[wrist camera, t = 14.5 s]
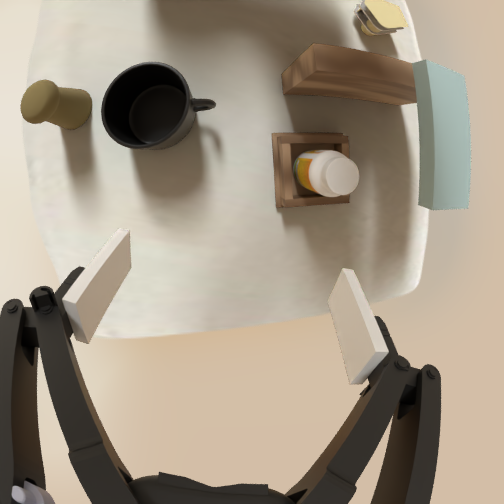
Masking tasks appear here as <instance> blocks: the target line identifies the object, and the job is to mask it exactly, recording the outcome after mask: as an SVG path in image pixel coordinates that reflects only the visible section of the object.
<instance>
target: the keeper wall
mask: <svg viewBox="0 0 504 504" xmlns="http://www.w3.org/2000/svg"><path fill="white" fill-rule="evenodd" d="M282 85H283V94H288V95H316V96H331V97H343V98H352V99H361V100H368V101H375V102H382V103H388V104H394V105H404V104H411V103H417V97H416V88H415V81H414V74H413V67H412V63H409V62H405V61H402V60H398V59H395V58H391V57H387V56H383V55H379V54H375V53H371V52H366V51H361V50H356V49H351V48H345V47H339V46H333V45H325V44H317V43H313V44H312V45H311V46H310V47H309V48H308V49H307V50H306V51H304V52H303V53H302V54H301V55H300V56H299V57H298V58H297V59H296V60H295V61H294V62H293V63H292V64H291V65H290V66H289V67H288V68H287V69H286V70H285V71H284V72H283V73H282Z"/></svg>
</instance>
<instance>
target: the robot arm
mask: <svg viewBox="0 0 504 504" xmlns="http://www.w3.org/2000/svg"><path fill="white" fill-rule="evenodd" d="M130 269H131V252H130V230H125V229H120V228H119V229H118V230H117V231H116V232H115V233H114V234H113V235H112V237H111V238H110V239H109V240H108V241H107V242H106V243H105V245H104V246H103V247H102V248H101V249H100V251H99V252H98V253H97V254H96V255H95V257H94V258H93V259H92V260H91V262H90V263H89V264H88V265H87V267H86V268H84V267H80V266H79V267H78V268H76V269H75V270H73V271H72V272H71V273H70V274H69V276H68V277H67V278H66V279H65V281H64V282H63V283H62V284H61V286H60V287H59V288H58V290H57V291H56V292H55V294H54V292H53V290H52V289H51V288H50V287H48V286H40V287H38V288H36V289H34V290H33V291H32V292H31V294H30V297H29V299H30V302H31V305H32V307H24V306H23V304H22V302H21V301H20V300H19V299H11V300H9V301H7V302H6V303H5V304H4V306H3V308H2V311H1V315H0V504H55V502H54V500H53V498H52V497H51V495H50V494H49V493H48V492H47V491H46V484H45V474H44V467H43V461H42V455H41V447H40V438H39V428H38V413H37V362H38V348H40V353H41V358H42V363H43V368H44V372H45V376H46V380H47V384H48V388H49V392H50V395H51V399H52V402H53V406H54V409H55V412H56V415H57V418H58V421H59V424H60V427H61V429H62V432H63V434H64V437H65V440H66V442H67V445H68V448H69V453H68V455H69V458H70V461H71V464H72V466H73V468H74V470H75V472H76V474H77V476H78V479H79V481H80V483H81V484H82V486H83V488H84V490H85V492H86V494H87V496H88V497H89V499H90V501H91V502H92V504H348V503H349V501H350V500H351V498H352V497H353V495H354V493H355V492H356V489H357V488H356V486H355V483H356V482H357V480H358V478H359V477H360V475H361V474H362V472H363V470H364V469H365V467H366V465H367V464H368V462H369V460H370V458H371V457H372V455H373V453H374V451H375V450H376V448H377V446H378V444H379V442H380V440H381V438H382V436H383V434H384V432H385V430H386V428H387V426H388V424H389V422H390V420H391V418H392V416H393V419H392V425H391V430H390V435H389V440H388V444H387V449H386V453H385V457H384V461H383V465H382V469H381V472H380V476H379V479H378V482H377V486H376V489H375V492H374V495H373V498H372V501H371V504H430V499H431V494H432V489H433V484H434V478H435V472H436V465H437V457H438V447H439V436H440V420H441V377H440V373H439V371H438V370H437V369H436V367H434V366H432V365H429V364H427V365H425V366H424V367H423V368H422V369H421V370H420V369H417V368H413V367H411V366H410V363H409V362H408V361H407V360H406V359H405V358H404V357H402V356H400V355H398V353H397V351H396V348H395V346H394V343H393V341H392V338H391V337H390V334H389V332H388V329H387V327H386V325H385V323H384V322H383V320H382V319H381V318H380V317H378V316H374V315H373V312H372V310H371V308H370V305H369V303H368V301H367V299H366V296H365V294H364V292H363V290H362V288H361V285H360V283H359V281H358V279H357V277H356V275H355V273H354V271H353V270H351V269H346V268H342V270H341V272H340V275H339V277H338V279H337V281H336V284H335V286H334V288H333V290H332V292H331V295H330V297H329V299H328V305H329V308H330V312H331V315H332V319H333V322H334V326H335V329H336V333H337V337H338V340H339V344H340V348H341V352H342V356H343V360H344V363H345V368H346V372H347V376H348V380H349V384H363V382H364V381H365V380H366V379H367V378H368V381H369V385H368V386H367V387H366V388H365V389H364V390H363V391H362V392H361V393H360V395H361V397H360V399H359V400H358V402H357V403H356V405H355V407H354V409H353V410H352V411H351V413H350V415H349V416H348V418H347V419H346V421H345V422H344V424H343V425H342V427H341V428H340V430H339V431H338V432H337V434H336V435H335V437H334V438H333V440H332V441H331V442H330V444H329V445H328V446H327V448H326V449H325V450H324V452H323V453H322V454H321V456H320V457H319V458H318V460H317V461H316V462H315V463H314V465H313V466H312V467H311V468H310V470H309V471H308V472H307V473H306V474H305V476H304V477H303V478H302V479H301V480H300V481H299V482H298V483H297V484H296V485H294V486H293V487H292V488H291V489H290V490H289V491H288V492H287V493H286V494H285V495H284V494H282V493H279V492H277V491H275V490H272V489H269V488H268V484H265V485H264V484H236V485H230V486H221V487H211V486H208V485H205V484H202V483H199V482H196V481H194V480H191V479H189V478H186V477H182V476H177V475H171V474H166V473H162V472H159V475H152V476H145V477H141V478H138V479H135V480H133V478H132V477H131V475H130V473H129V472H128V470H127V469H126V467H125V466H124V464H123V463H122V461H121V460H120V458H119V456H118V455H117V453H116V451H115V449H114V447H113V445H112V443H111V441H110V440H109V438H108V436H107V434H106V431H105V429H104V427H103V426H102V423H101V421H100V419H99V417H98V414H97V412H96V410H95V407H94V405H93V403H92V400H91V398H90V395H89V393H88V390H87V388H86V385H85V382H84V379H83V377H82V374H81V371H80V368H79V365H78V362H77V359H76V356H75V353H74V349H73V346H72V343H71V340H70V337H71V335H72V334H73V333H74V336H75V339H76V340H78V341H80V342H83V343H86V344H89V342H90V340H91V338H92V336H93V334H94V332H95V331H96V329H97V327H98V325H99V323H100V321H101V319H102V317H103V316H104V314H105V312H106V310H107V308H108V307H109V305H110V303H111V301H112V299H113V298H114V296H115V294H116V293H117V291H118V289H119V287H120V286H121V284H122V282H123V281H124V279H125V277H126V276H127V274H128V272H129V271H130Z"/></svg>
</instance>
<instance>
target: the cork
mask: <svg viewBox="0 0 504 504" xmlns="http://www.w3.org/2000/svg"><path fill="white" fill-rule="evenodd" d="M91 109H92V99H91V97H90V94H89V93H87V92H86V91H84V90H81V89H72V88H61V87H57V85H56V84H55V83H54V82H52V81H49V80H41V81H37V82H36V83H34V84H32V85H31V86H30V87H29V88H28V89H27V90H26V92H25V93H24V96H23V98H22V101H21V113H22V116H23V118H24V119H25V120H26V121H27V122H30V123H32V124H37V123H42V122H44V121H47V122H50V123H52V124H55V125H58V126H60V127H63V128H65V129H68V130H72V129H76V128H79V127H80V126H81V125H83V124H84V123H85V121H86V120H87V119H88V117H89V115H90V113H91Z"/></svg>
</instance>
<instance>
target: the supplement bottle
mask: <svg viewBox="0 0 504 504" xmlns="http://www.w3.org/2000/svg"><path fill="white" fill-rule="evenodd" d="M293 172H294V176H295V179H296V180H297V182H298V183H299V184H300V185H301V186H302V187H304V188H306V189H309V190H311V191H314V192H316V193H318V194H321V195H323V196H327V197H337V196H340V195H347V194H349V193H351V192H353V191H354V190H355V188H356V187H357V185H358V183H359V170H358V168H357V166H356V164H355V163H354V162H353V161H352V160H350V159H348V158H347V157H346V156H345V155H343V154H342V153H340V152H337V151H332V150H309V151H305V152H303V153H301V154H300V155H299V156H298V157H297V159H296V161H295V163H294V167H293Z"/></svg>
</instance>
